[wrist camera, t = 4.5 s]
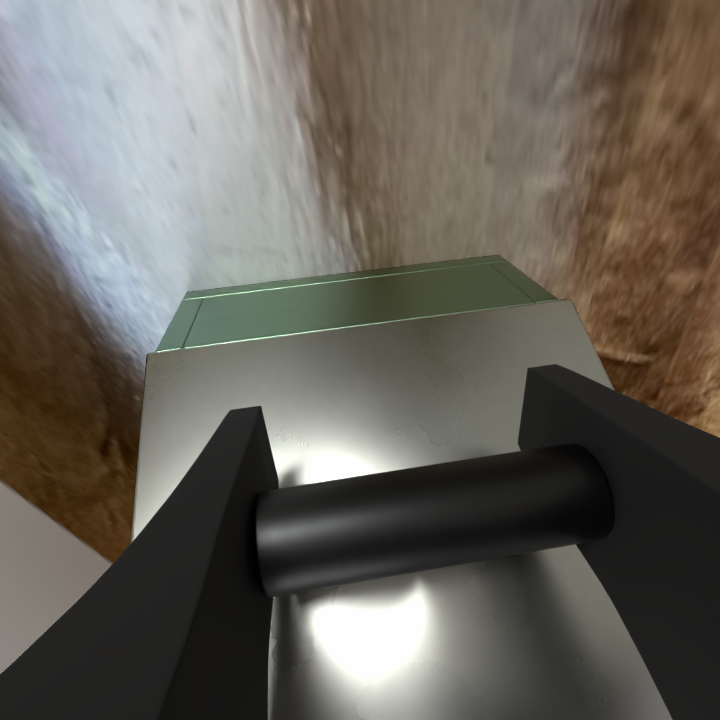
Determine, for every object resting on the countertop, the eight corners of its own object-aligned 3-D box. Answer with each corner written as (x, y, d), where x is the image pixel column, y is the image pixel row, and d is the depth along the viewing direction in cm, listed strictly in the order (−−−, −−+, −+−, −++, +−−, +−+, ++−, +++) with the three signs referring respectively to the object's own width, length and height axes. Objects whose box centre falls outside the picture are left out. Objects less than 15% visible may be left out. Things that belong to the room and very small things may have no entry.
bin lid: (848, 936, 8) (1397, 1302, 4) (99, 1131, 7) (-297, 1931, 3) (562, 310, 14) (646, 189, 10) (155, 364, 13) (63, 254, 9)
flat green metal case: (480, 476, 25) (517, 551, 21) (251, 512, 24) (243, 599, 20) (499, 253, 18) (560, 299, 14) (185, 291, 17) (154, 351, 13)
